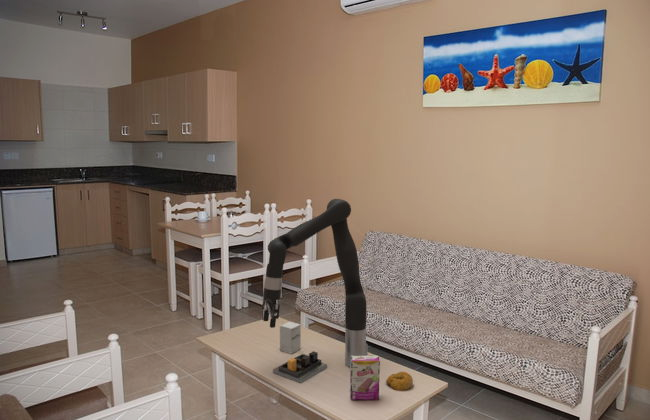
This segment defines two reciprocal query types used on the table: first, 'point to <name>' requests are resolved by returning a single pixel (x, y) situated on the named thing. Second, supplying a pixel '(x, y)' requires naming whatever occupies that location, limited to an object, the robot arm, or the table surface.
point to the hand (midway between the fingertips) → (268, 324)
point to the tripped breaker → (292, 364)
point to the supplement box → (290, 337)
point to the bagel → (400, 381)
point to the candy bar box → (364, 377)
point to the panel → (302, 367)
